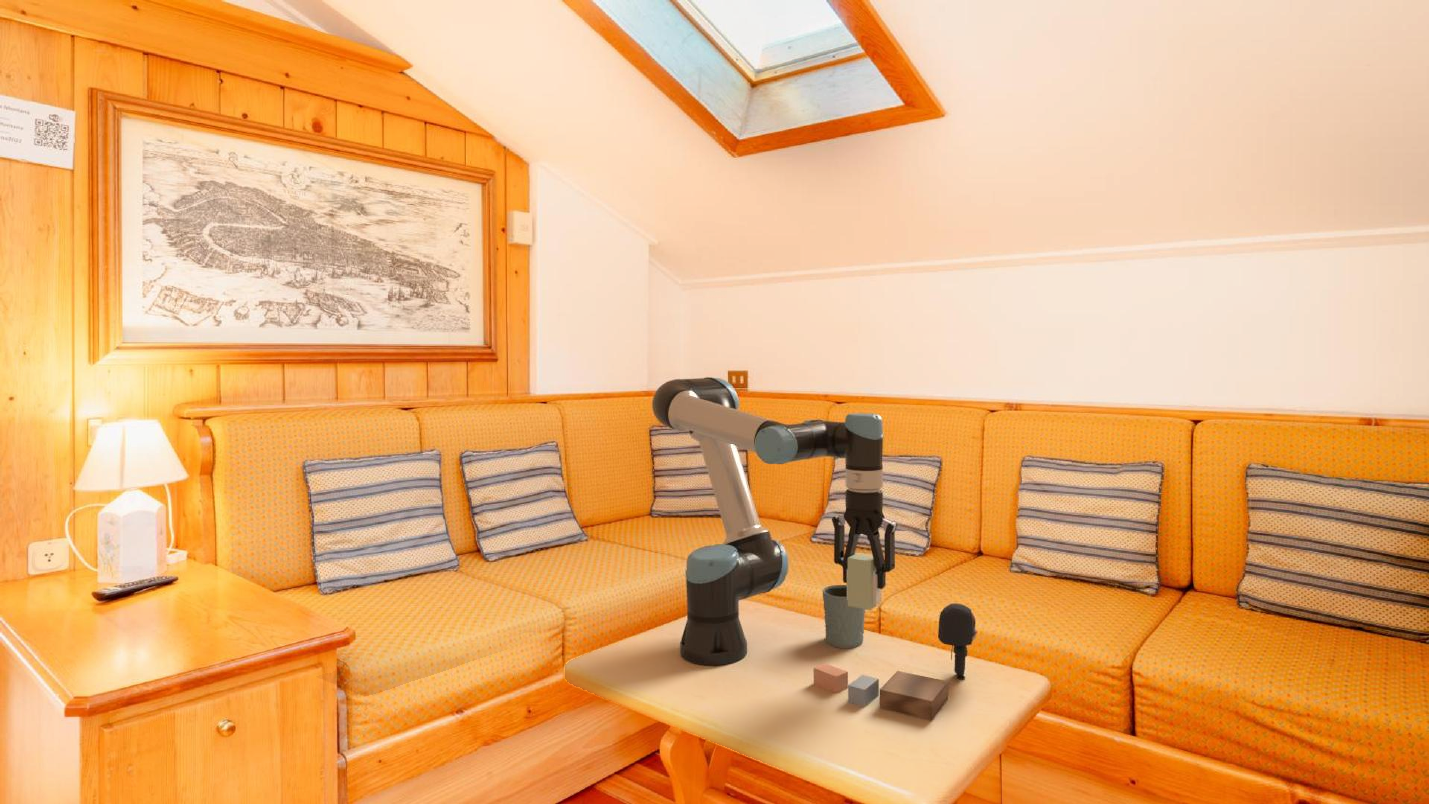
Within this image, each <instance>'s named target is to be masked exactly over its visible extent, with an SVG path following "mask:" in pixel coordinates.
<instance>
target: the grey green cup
mask: <svg viewBox="0 0 1429 804" xmlns="http://www.w3.org/2000/svg"><path fill="white" fill-rule="evenodd" d="M821 590H822V601H823V609H824V610H823V611H824V623H825V624H824V625H825V626H824V628H825V630H824V631H825V641H826V642H825V643H826V644H828V645H830V646H832V647H834V648H841V649H852V648H858V647H860V646H862V645H863V643H864V633H865V631H864V630H865V619H866V618H865V617H866V609H862V608H856V607H851V606H848V600H847V584H834V585H828V586H826V587H824V588H823V589H821Z"/></svg>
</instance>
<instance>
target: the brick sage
mask: <svg viewBox="0 0 1429 804" xmlns="http://www.w3.org/2000/svg"><path fill="white" fill-rule="evenodd" d="M874 572H876V567H875V563H874V559H873V555H872V553H864V552H863V553H862V552H855V554H854V555H852V556H850V557H848V606H851V607H856V608H862V609H865V610H868V611H872V610H873V609H874V608H876V607H877V606H879V605H880V604H881V602H880V603H879V604H878V605H873V573H874Z"/></svg>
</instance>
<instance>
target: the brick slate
mask: <svg viewBox="0 0 1429 804" xmlns="http://www.w3.org/2000/svg"><path fill="white" fill-rule="evenodd" d="M879 683H880V680H879V678H878V677H872V676H868V675H865V674H861V675H859V677H857V678H856V679H855V680H853V681H852V682H850V683H848V688H847V697H848V699H847V702H848V703H849V704H853V705H857V706H860V707H864V708H865V707H867V705H870V704H871V703H872V702H873V701H874V700H875V699H876V698H879V697H880V687H879V685H880V684H879Z"/></svg>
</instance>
